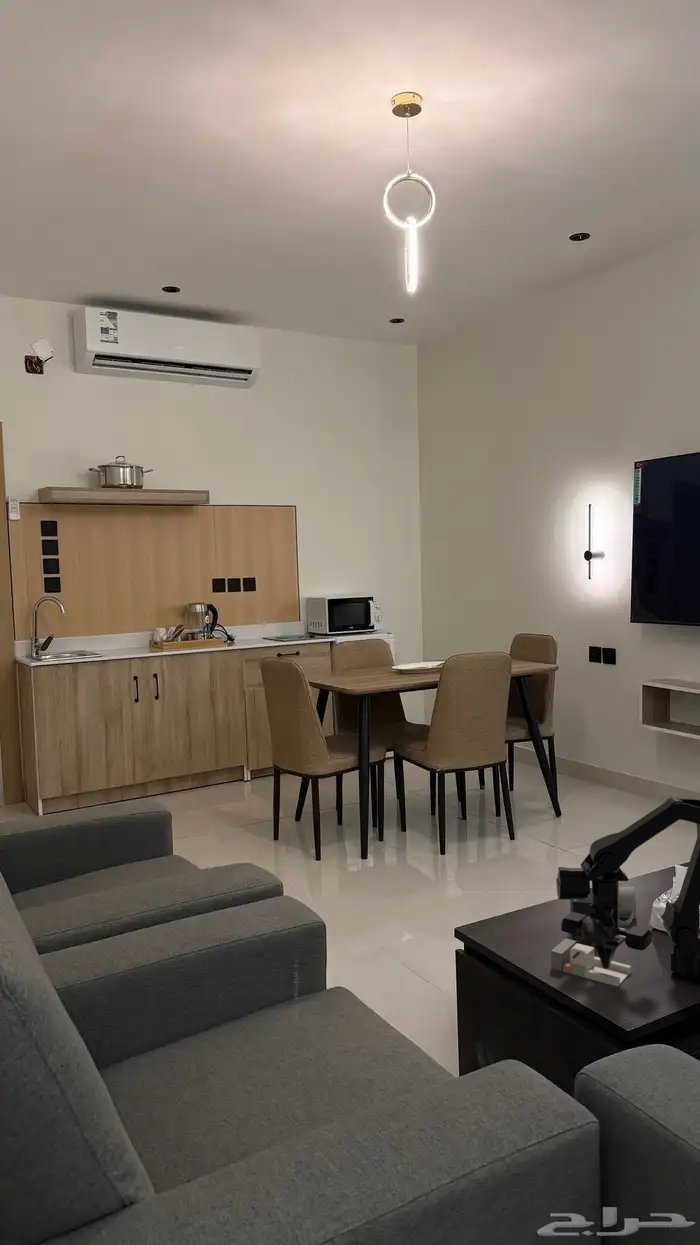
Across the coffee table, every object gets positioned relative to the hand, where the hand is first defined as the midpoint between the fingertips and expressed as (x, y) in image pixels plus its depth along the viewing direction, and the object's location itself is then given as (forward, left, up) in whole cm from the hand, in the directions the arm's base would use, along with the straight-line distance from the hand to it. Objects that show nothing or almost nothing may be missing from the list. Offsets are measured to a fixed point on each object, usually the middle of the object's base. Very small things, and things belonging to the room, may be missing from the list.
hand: (606, 968), depth 192 cm
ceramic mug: (+8, -32, -2) cm, 33 cm away
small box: (+12, -16, -2) cm, 20 cm away
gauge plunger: (+6, +2, -1) cm, 6 cm away
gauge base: (+3, 0, -1) cm, 4 cm away
